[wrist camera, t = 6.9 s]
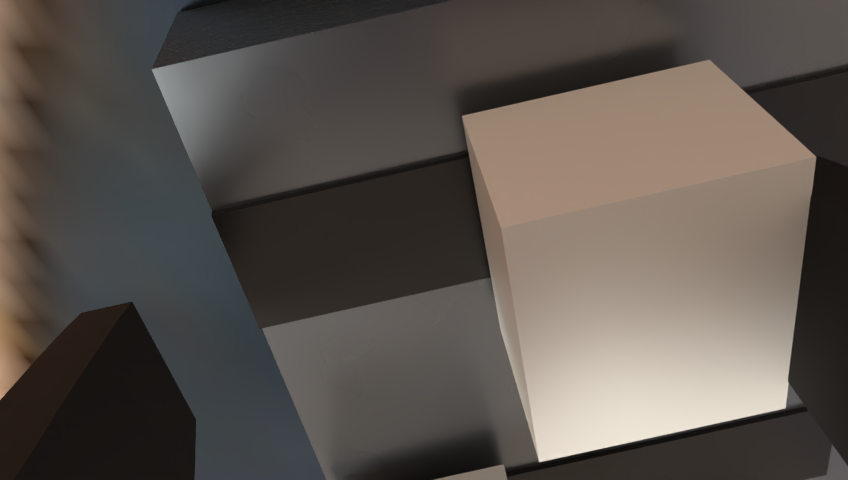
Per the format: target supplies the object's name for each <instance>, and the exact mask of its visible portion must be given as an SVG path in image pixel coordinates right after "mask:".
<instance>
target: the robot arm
mask: <svg viewBox="0 0 848 480" xmlns="http://www.w3.org/2000/svg"><path fill="white" fill-rule="evenodd" d="M815 156H816V164H815V172H814V180H813V188H812V195H811V198H810V206H809V214H808V222H807V230H806V238H805V246H804V254H803V262H802V270H801V278H800V286H799V294H798V302H797V310H796V318H795V326H794V334H793V342H792V351H791V359H790V367H789V375H788V383H789V384H790V385H791V387H792V388H793V390H794V391H795V393H796V394H797V395H798V397H799V398H800V400H801V401H802V403H803V404H804V405H805V407H806V408H807V410H808V411H809V412H810V414H811V415H812V417H813V418H814V420H815V421H816V422H817V424H818V425H819V427H820V428H821V429H822V431H823V432H824V434H825V435H826V436H827V438H828V439H829V441H830V442H831V443H832V445H833V446H834V448H835V449H836V450H837V452H838V453H839V454H840V456H841V457H842V459H843V460H844V461H845V463H846V464H847V466H848V167H847V166H845V165H842V164H840V163H837V162H834V161H831V160H829V159H826V158H823V157H820V156H817V155H815ZM195 439H196V419H195V417H194V415H193V413H192V411H191V410H190V408H189V406H188V404H187V402H186V400H185V399H184V397H183V395H182V393H181V391H180V389H179V387H178V386H177V384H176V382H175V380H174V378H173V376H172V374H171V373H170V371H169V369H168V367H167V365H166V363H165V362H164V360H163V358H162V356H161V354H160V352H159V350H158V349H157V347H156V345H155V343H154V341H153V339H152V337H151V336H150V334H149V332H148V330H147V328H146V326H145V325H144V323H143V321H142V319H141V317H140V315H139V313H138V312H137V310H136V308H135V306H134V304H133V302H129V303H124V304H120V305H115V306H111V307H106V308H102V309H97V310H93V311H88V312H84V313H81V314H80V315H79V316H78V317H77V318H76V319H75V320H73V321H72V322H71V323H70V324H69V325H68V326H67V327H66V328H65V329H64V330H63V331H62V332H61V334H60V335H59V336H58V337H57V338H56V339H55V340H54V341H53V342H52V343H51V344H50V345H49V346H48V348H47V349H46V350H45V351H44V352H43V353H42V354H41V355H40V356H39V357H38V359H37V360H36V361H35V362H34V363H33V364H32V365H31V366H30V367H29V369H28V370H27V371H26V372H25V373H24V374H23V375H22V376H21V378H20V379H19V380H18V381H17V382H16V383H15V384H14V385H13V387H12V388H11V389H10V390H9V391H8V392H7V393H6V394H5V396H4V397H3V398H2V399H1V400H0V480H194V474H195Z"/></svg>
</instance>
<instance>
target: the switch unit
mask: <svg viewBox="0 0 848 480" xmlns="http://www.w3.org/2000/svg"><path fill="white" fill-rule="evenodd" d="M706 60H710V61H711V62H713V63H714V64H715V65H716V66H717V67H718V68H719V69H720V70H721V71H722V72H724V73H725V74H726V75H727V76H728V77H729V78H730V79H731V80H732V81H733V82H735V83H736V84H737V85H738V86H739V87H740V88H741V89H742V90H743V91H744V92H746V93H747V94H748V95H749V96H750V97H751V98H752V99H753V100H754V101H755V102H757V103H758V104H759V105H760V106H761V107H762V108H763V109H764V110H765V111H766V112H768V113H769V114H770V115H771V116H772V117H773V118H774V119H775V120H776V121H777V122H779V123H780V124H781V125H782V126H783V127H784V128H785V129H786V130H787V131H788V132H790V133H791V134H792V135H793V136H794V137H795V138H796V139H797V140H798V141H799V142H801V143H802V144H803V145H804V146H805V147H806V148H807V149H808V150H809V151H810V152H812V153H813V154H814V155H817V156H820V157H823V158H826V159H829V160H831V161H834V162H837V163H840V164H842V165H845V166H847V167H848V0H229V1H225V2H220V3H216V4H212V5H207V6H203V7H199V8H194V9H190V10H186V11H182V12H178V13H177V15H176V17H175V19H174V22H173V24H172V26H171V28H170V30H169V33H168V35H167V37H166V39H165V41H164V44H163V46H162V48H161V50H160V52H159V55H158V57H157V59H156V61H155V63H154V66H153V68H152V71H153V73H154V76H155V78H156V80H157V83H158V85H159V87H160V90H161V92H162V94H163V97H164V99H165V101H166V104H167V106H168V108H169V111H170V113H171V116H172V118H173V120H174V123H175V125H176V127H177V130H178V132H179V134H180V137H181V139H182V141H183V144H184V146H185V148H186V151H187V153H188V155H189V158H190V160H191V163H192V165H193V167H194V170H195V172H196V174H197V177H198V179H199V181H200V184H201V186H202V188H203V191H204V193H205V195H206V198H207V200H208V202H209V205H210V207H211V210H212V218H213V220H214V223H215V225H216V227H217V230H218V232H219V234H220V237H221V239H222V241H223V244H224V246H225V248H226V251H227V253H228V255H229V258H230V260H231V262H232V265H233V267H234V269H235V272H236V274H237V276H238V279H239V281H240V283H241V286H242V288H243V290H244V293H245V295H246V297H247V300H248V302H249V304H250V307H251V309H252V311H253V314H254V316H255V319H256V321H257V323H258V326H259V328H260V329H263V332H264V334H265V336H266V339H267V341H268V343H269V346H270V348H271V350H272V353H273V355H274V358H275V360H276V362H277V365H278V367H279V369H280V372H281V374H282V376H283V379H284V381H285V383H286V386H287V388H288V390H289V393H290V395H291V397H292V400H293V402H294V405H295V407H296V409H297V412H298V414H299V416H300V419H301V421H302V423H303V426H304V428H305V430H306V433H307V435H308V437H309V440H310V442H311V444H312V447H313V449H314V451H315V454H316V456H317V459H318V461H319V463H320V466H321V468H322V470H323V473H324V475H325V477H326V480H434V479H439V478H443V477H448V476H453V475H457V474H462V473H466V472H471V471H475V470H480V469H485V468H489V467H494V466H498V465H503V464H504V468H505V472H506V476H507V480H848V466H847V464H846V463H845V461H844V460H843V459H842V457H841V456H840V454H839V453H838V452H837V450H836V449H835V448H834V446H833V445H832V443H831V442H830V441H829V439H828V438H827V436H826V435H825V434H824V432H823V431H822V429H821V428H820V427H819V425H818V424H817V422H816V421H815V420H814V418H813V417H812V415H811V414H810V412H809V411H808V410H807V408H806V407H805V405H804V404H803V403H802V401H801V400H800V398H799V397H798V395H797V394H796V393H795V391H794V390H793V388H792V387H791V385H790V384H788V393H787V401H786V408H785V409H781V410H776V411H771V412H767V413H762V414H758V415H753V416H749V417H744V418H739V419H735V420H730V421H726V422H721V423H717V424H712V425H707V426H703V427H698V428H694V429H689V430H685V431H680V432H675V433H671V434H666V435H662V436H657V437H653V438H648V439H643V440H639V441H634V442H630V443H625V444H621V445H616V446H611V447H607V448H602V449H598V450H593V451H588V452H584V453H579V454H575V455H570V456H566V457H561V458H556V459H552V460H547V461H543V462H539V460H538V456H537V453H536V449H535V446H534V443H533V439H532V436H531V432H530V429H529V425H528V422H527V419H526V415H525V412H524V408H523V405H522V402H521V398H520V395H519V391H518V388H517V384H516V381H515V378H514V374H513V371H512V367H511V364H510V360H509V357H508V354H507V350H506V347H505V343H504V340H503V336H502V333H501V330H500V324H499V318H498V313H497V307H496V302H495V296H494V291H493V285H492V280H491V274H490V269H489V263H488V258H487V252H486V247H485V241H484V236H483V230H482V225H481V219H480V213H479V208H478V202H477V197H476V191H475V186H474V180H473V175H472V169H471V164H470V158H469V153H468V147H467V142H466V136H465V131H464V125H463V119H462V116H464V115H468V114H473V113H477V112H481V111H486V110H490V109H495V108H499V107H503V106H508V105H512V104H517V103H521V102H525V101H530V100H534V99H539V98H543V97H547V96H552V95H556V94H561V93H565V92H569V91H574V90H578V89H583V88H587V87H591V86H596V85H600V84H605V83H609V82H613V81H618V80H622V79H627V78H631V77H635V76H640V75H644V74H649V73H653V72H657V71H662V70H666V69H671V68H675V67H679V66H684V65H688V64H693V63H697V62H701V61H706Z"/></svg>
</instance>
